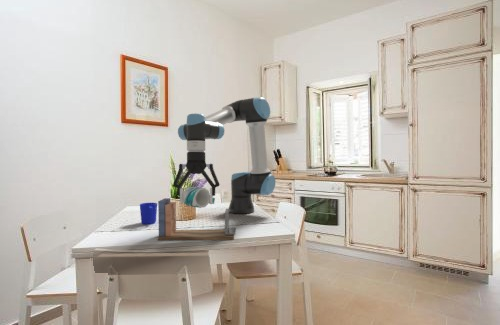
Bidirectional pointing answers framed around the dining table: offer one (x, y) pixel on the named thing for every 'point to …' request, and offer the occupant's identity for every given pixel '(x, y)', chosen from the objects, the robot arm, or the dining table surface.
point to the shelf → (170, 233)
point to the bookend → (228, 230)
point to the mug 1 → (148, 213)
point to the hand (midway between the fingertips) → (196, 203)
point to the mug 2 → (196, 197)
